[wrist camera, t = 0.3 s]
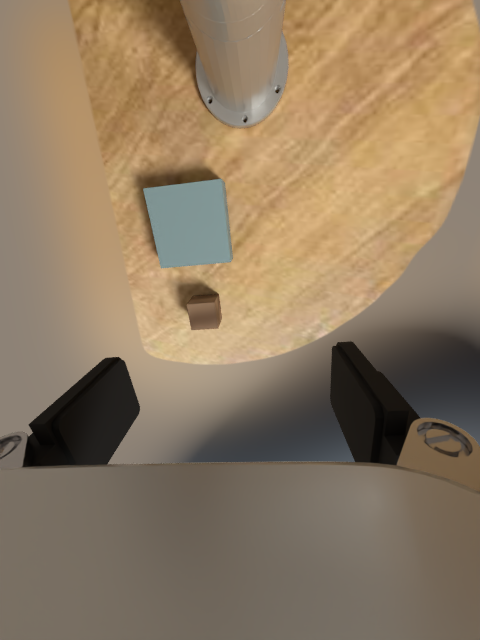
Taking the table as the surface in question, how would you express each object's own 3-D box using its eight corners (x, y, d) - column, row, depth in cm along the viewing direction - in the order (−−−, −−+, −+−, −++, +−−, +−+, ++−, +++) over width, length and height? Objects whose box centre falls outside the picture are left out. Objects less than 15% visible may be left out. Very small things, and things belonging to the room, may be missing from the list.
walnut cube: (193, 296, 46) (186, 304, 41) (218, 294, 46) (214, 302, 41) (197, 319, 48) (191, 330, 43) (221, 317, 48) (218, 328, 43)
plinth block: (153, 191, 39) (143, 188, 36) (224, 182, 38) (221, 178, 34) (169, 264, 44) (161, 268, 40) (232, 258, 43) (230, 262, 39)
